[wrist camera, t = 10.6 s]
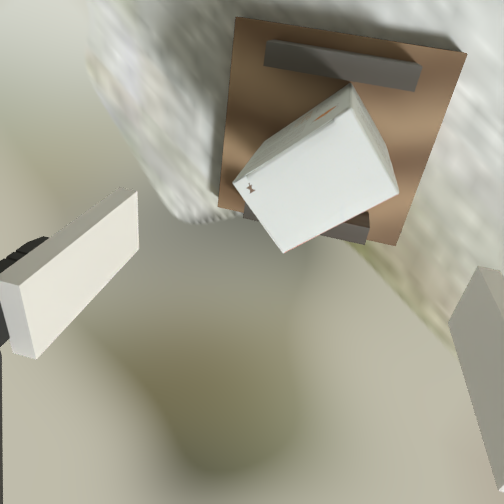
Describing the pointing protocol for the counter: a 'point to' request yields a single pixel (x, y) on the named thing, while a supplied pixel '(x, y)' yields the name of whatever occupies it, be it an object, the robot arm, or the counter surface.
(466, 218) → the counter surface
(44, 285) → the robot arm
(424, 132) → the mounting plate
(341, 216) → the small box
